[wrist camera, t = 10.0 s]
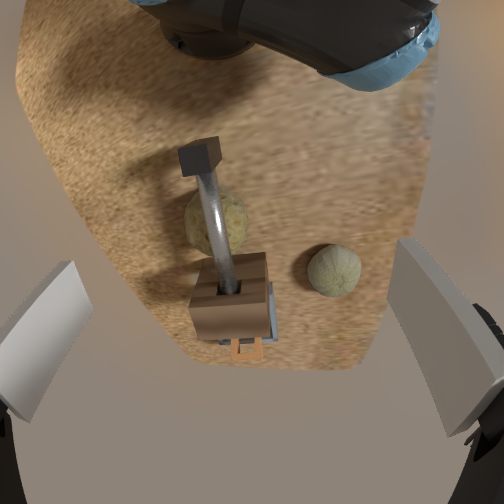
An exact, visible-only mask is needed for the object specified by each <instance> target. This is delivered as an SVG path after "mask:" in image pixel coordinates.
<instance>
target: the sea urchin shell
mask: <svg viewBox="0 0 504 504" xmlns="http://www.w3.org/2000/svg"><path fill="white" fill-rule="evenodd" d="M307 273H308V278H309V281H310V283H311V284H312V285H313V288H314V289H316V290H317V291H318V292H319V293H320V294H321V295H324V296H326V297H336V296H341V295H344V294H347V293H349V292H350V291H352V290H353V289H354V287H355V285H356V284H357V282H358V280H359V277H360V275H361V261H360V259H359V257H358V256H357V254H355V253H354V252H353V251H352V250H350V249H348V248H346V247H344V246H339V245H335V244H334V245H329V246H327V247H325V248H323V249H321V250H320V251H319V252H318V253H317V254H316V255H314V256H313V257H312V259H311V261H310V262H309V264H308V268H307Z"/></svg>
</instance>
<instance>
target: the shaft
mask: <svg viewBox="0 0 504 504" xmlns="http://www.w3.org/2000/svg"><path fill="white" fill-rule="evenodd" d="M178 154H179V160H180V165H181V169H182V174H183V177H187V176H193V175H196V180H197V185H198V190H199V195H200V200H201V205H202V210H203V214H204V219H205V224H206V228H207V233H208V237H209V242H210V246H211V251H212V255H213V260H214V264H215V268H216V273H217V277H218V281H219V285H220V290H221V294H222V295H231V294H239V290H238V285H237V280H236V275H235V270H234V265H233V260H232V254H231V249H230V244H229V239H228V234H227V228H226V223H225V217H224V212H223V207H222V201H221V196H220V190H219V185H218V179H217V173H216V168H215V167H216V166H217V165H218V164H219V162H220V161H221V160H222V154H221V148H220V142H219V136H215V137H209V138H204V139H198V140H194V141H192V142H190V143H188V144H186V145H184V146H182V147H180V148H179V149H178Z"/></svg>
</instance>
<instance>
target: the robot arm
mask: <svg viewBox="0 0 504 504" xmlns="http://www.w3.org/2000/svg"><path fill="white" fill-rule="evenodd" d="M440 1H441V0H129V2H132V3H135V4H137V5H138V6H140V7H141V8H143V9H144V10H146V11H147V12H149V13H150V14H152V15H153V16H154V17H156V18H157V19H159V20H160V25H161V29H162V32H163V34H164V36H165V37H166V39H167V40H168V42H169V43H170V44H171V45H172V46H174V47H175V48H176V49H178V50H179V51H181V52H182V53H184V54H186V55H188V56H191V57H194V58H198V59H203V60H220V59H226V58H230V57H233V56H236V55H238V54H241V53H243V52H245V51H246V50H248V49H250V48H251V47H252V46H254V45H255V44H259V45H262V46H264V47H267V48H269V49H272V50H274V51H277V52H279V53H281V54H284V55H286V56H288V57H290V58H293V59H295V60H297V61H299V62H301V63H303V64H306V65H308V66H310V67H312V68H314V69H316V70H317V72H318V73H319V74H320V75H322V76H324V77H328V78H332V79H335V80H337V81H339V82H341V83H343V84H345V85H346V86H348V87H350V88H352V89H355V90H359V91H367V92H372V91H377V90H381V89H384V88H387V87H389V86H391V85H393V84H395V83H396V82H398V81H400V80H401V79H402V78H404V77H405V76H407V75H408V74H409V73H411V72H412V71H413V70H414V69H415V68H416V67H417V66H418V65H420V63H421V62H422V61H423V60H424V59H425V58H426V57H427V55H428V53H427V50H428V49H429V48H431V47H433V46H434V45H435V43H436V41H437V39H438V36H439V32H440V24H439V20H438V19H437V17H436V15H435V13H434V12H433V11H432V10H433V9H434V8H435V7H436V6H437V5H438V4H439V3H440ZM387 300H388V302H389V304H390V305H391V307H392V309H393V311H394V313H395V315H396V317H397V319H398V321H399V323H400V325H401V327H402V329H403V331H404V333H405V335H406V337H407V339H408V341H409V344H410V346H411V348H412V350H413V352H414V355H415V357H416V359H417V361H418V363H419V366H420V368H421V370H422V373H423V375H424V377H425V380H426V382H427V384H428V387H429V389H430V391H431V394H432V397H433V399H434V402H435V404H436V407H437V410H438V412H439V415H440V418H441V420H442V423H443V426H444V429H445V432H446V435H447V437H451V436H453V435H456V434H458V433H461V432H463V431H466V430H468V429H469V428H470V427H471V426H472V424H473V423H474V422H475V421H476V420H477V419H478V421H479V424H480V427H479V428H478V429H477V430H476V431H475V432H474V433H473V434H472V435H471V436H470V437H469V438H468V439H467V440H466V442H465V443H464V445H468V444H469V443H470V442H471V441H472V440H473V439H474V440H473V443H472V445H471V446H470V447H471V449H470V452H469V455H468V458H467V460H466V463H465V466H464V468H463V471H462V473H461V476H460V478H459V480H458V483H457V485H456V487H455V490H454V492H453V494H452V496H451V498H450V500H449V502H448V504H504V335H503V332H502V330H501V329H500V327H499V326H497V325H496V322H495V321H494V319H493V318H492V317H491V315H490V314H489V313H488V312H487V311H486V310H485V309H483V308H482V307H481V306H479V305H478V304H471V303H470V302H469V300H468V299H467V298H466V296H465V295H464V294H463V293H462V291H461V290H460V289H459V288H458V286H457V285H456V284H455V283H454V282H453V280H452V279H451V278H450V277H449V276H448V274H447V273H446V272H445V271H444V270H443V269H442V267H441V266H440V265H439V264H438V263H437V262H436V261H435V259H434V258H433V257H432V256H431V255H430V254H429V253H428V252H427V251H426V249H424V247H423V246H422V245H421V244H420V243H419V242H418V241H417V240H416V239H415V238H400V239H397V245H396V251H395V258H394V264H393V269H392V275H391V280H390V285H389V290H388V295H387ZM93 312H94V309H93V307H92V304H91V302H90V300H89V298H88V295H87V293H86V291H85V289H84V287H83V284H82V282H81V279H80V277H79V275H78V272H77V269H76V267H75V264H74V262H73V260H69V261H61V262H60V263H59V264H58V265H57V266H56V267H55V268H54V269H53V270H52V271H51V272H50V273H49V274H48V275H47V276H46V277H45V278H44V279H43V280H42V281H41V282H40V283H39V284H38V285H37V287H36V288H35V289H34V290H33V291H32V292H31V293H30V294H29V295H28V296H27V298H26V299H25V300H24V301H23V302H22V303H21V304H20V305H19V307H18V308H17V309H16V310H15V311H14V312H13V314H12V315H11V316H10V317H9V318H8V320H7V321H6V322H5V323H4V325H3V326H2V327H1V328H0V504H27V501H26V498H25V494H24V491H23V487H22V483H21V479H20V475H19V469H18V464H17V459H16V453H15V447H14V440H13V432H12V423H11V417H10V415H9V414H8V413H7V412H6V411H7V409H8V408H9V409H10V410H11V411H12V412H13V413H14V414H15V415H16V416H17V417H18V418H20V419H22V420H24V421H26V422H28V423H30V422H31V419H32V417H33V415H34V413H35V411H36V409H37V407H38V405H39V403H40V401H41V400H42V397H43V396H44V394H45V392H46V390H47V388H48V386H49V384H50V383H51V381H52V379H53V377H54V375H55V374H56V372H57V370H58V368H59V367H60V365H61V363H62V361H63V360H64V358H65V356H66V355H67V353H68V351H69V350H70V348H71V346H72V344H73V343H74V342H75V340H76V338H77V337H78V335H79V333H80V332H81V330H82V329H83V327H84V325H85V324H86V323H87V321H88V319H89V318H90V316H91V315H92V313H93Z"/></svg>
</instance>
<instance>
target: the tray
mask: <svg viewBox="0 0 504 504" xmlns="http://www.w3.org/2000/svg"><path fill="white" fill-rule="evenodd" d="M269 297H270V336H269V337H262V342H274V341H278V331H277V321H276V312H275V303H274V295H273V286H272V282H271V283H269ZM218 341H219V344H220V345H229V344H231V339H222V340H218ZM247 343H255V338H241V339H239V344H247Z"/></svg>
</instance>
